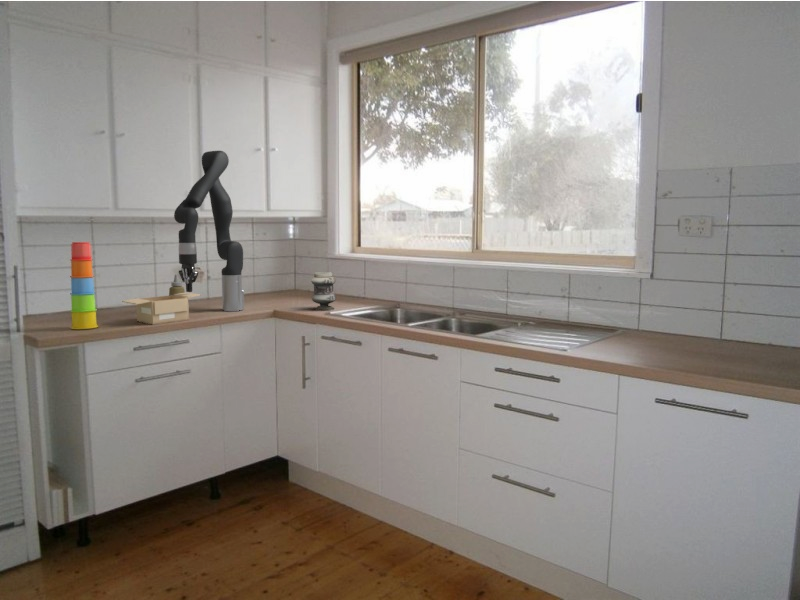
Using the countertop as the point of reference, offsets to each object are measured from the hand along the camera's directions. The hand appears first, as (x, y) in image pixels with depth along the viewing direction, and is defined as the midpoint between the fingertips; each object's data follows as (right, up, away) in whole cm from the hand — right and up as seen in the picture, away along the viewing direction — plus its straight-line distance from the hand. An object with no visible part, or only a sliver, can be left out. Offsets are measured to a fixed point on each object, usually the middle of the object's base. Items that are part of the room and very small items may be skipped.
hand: (189, 291), depth 285 cm
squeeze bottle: (-10, -10, +15) cm, 21 cm away
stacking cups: (-33, -15, -27) cm, 46 cm away
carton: (-8, -13, -8) cm, 17 cm away
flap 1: (-14, -4, -16) cm, 21 cm away
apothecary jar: (+57, -8, +28) cm, 64 cm away
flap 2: (-3, -2, -4) cm, 5 cm away
